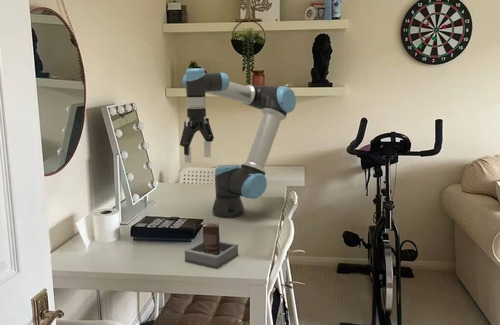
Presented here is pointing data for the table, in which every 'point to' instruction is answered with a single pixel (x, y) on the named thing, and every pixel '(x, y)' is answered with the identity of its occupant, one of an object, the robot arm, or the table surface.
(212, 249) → the box
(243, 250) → the table surface
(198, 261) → the tray
